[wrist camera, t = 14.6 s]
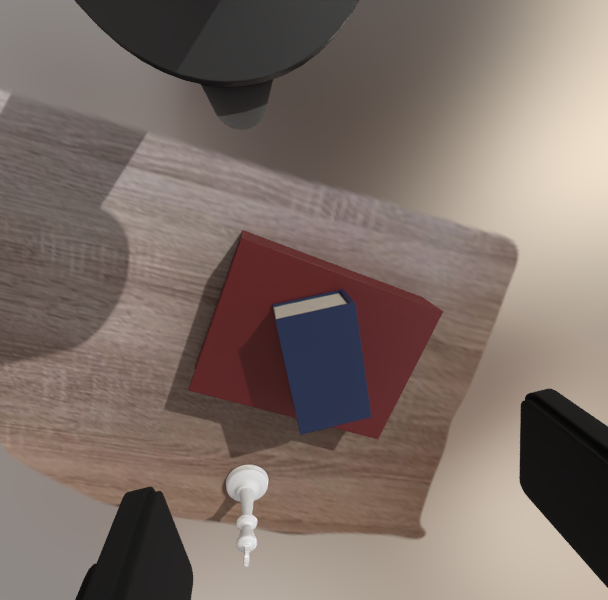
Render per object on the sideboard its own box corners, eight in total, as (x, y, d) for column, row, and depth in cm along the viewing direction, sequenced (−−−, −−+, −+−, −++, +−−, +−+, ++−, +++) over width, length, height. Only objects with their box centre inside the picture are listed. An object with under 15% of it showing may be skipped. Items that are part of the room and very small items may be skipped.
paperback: (272, 304, 33) (275, 320, 29) (343, 288, 33) (355, 302, 29) (295, 408, 36) (300, 434, 33) (359, 393, 37) (371, 417, 33)
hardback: (195, 367, 38) (188, 390, 34) (242, 230, 35) (241, 237, 31) (365, 413, 43) (378, 439, 39) (422, 297, 40) (443, 311, 35)
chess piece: (224, 498, 44) (217, 585, 34) (227, 464, 43) (221, 544, 33) (266, 498, 45) (270, 583, 35) (270, 464, 43) (276, 543, 34)
